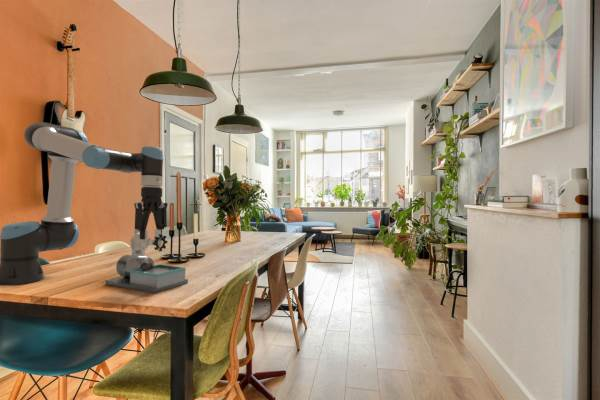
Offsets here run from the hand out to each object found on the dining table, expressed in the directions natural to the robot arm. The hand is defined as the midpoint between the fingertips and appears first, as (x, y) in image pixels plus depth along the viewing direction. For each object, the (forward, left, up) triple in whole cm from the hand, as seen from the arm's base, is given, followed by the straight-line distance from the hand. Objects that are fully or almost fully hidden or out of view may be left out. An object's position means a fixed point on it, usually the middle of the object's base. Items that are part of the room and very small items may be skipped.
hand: (151, 246), depth 124 cm
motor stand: (-5, +3, -15) cm, 16 cm away
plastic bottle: (-24, +14, -16) cm, 31 cm away
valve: (-1, 0, -2) cm, 2 cm away
